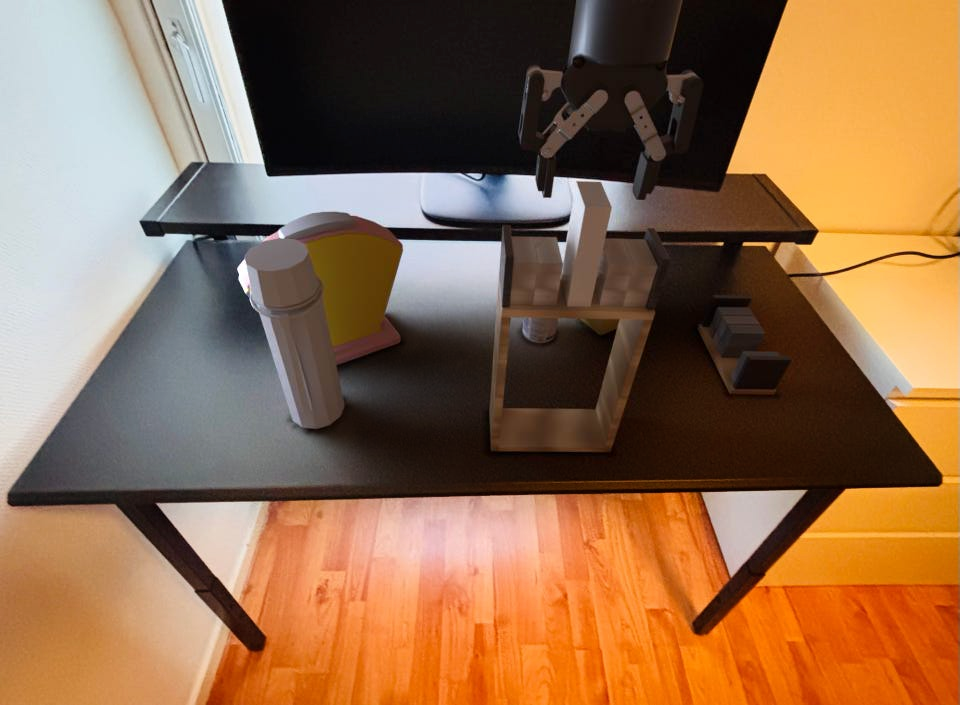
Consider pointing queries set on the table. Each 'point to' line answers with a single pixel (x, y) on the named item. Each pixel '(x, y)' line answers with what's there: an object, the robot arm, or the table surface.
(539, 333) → the energy drink
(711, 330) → the grey rack
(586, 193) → the white book
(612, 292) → the wooden book holder
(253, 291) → the water bottle
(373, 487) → the table surface
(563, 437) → the birch stand
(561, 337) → the table surface
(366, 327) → the yellow napkin holder
